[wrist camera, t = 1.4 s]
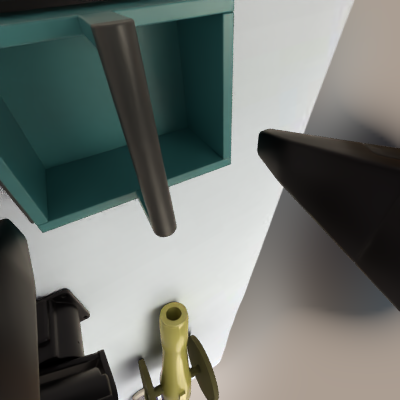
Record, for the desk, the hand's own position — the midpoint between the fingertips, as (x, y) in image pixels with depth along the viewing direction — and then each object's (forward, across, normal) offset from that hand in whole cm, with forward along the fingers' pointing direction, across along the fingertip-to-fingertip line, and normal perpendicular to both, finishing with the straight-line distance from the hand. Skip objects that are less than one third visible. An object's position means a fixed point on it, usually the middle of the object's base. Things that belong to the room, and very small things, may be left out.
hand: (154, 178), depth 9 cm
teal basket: (+10, 0, 0) cm, 11 cm away
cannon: (+11, +3, +43) cm, 45 cm away
